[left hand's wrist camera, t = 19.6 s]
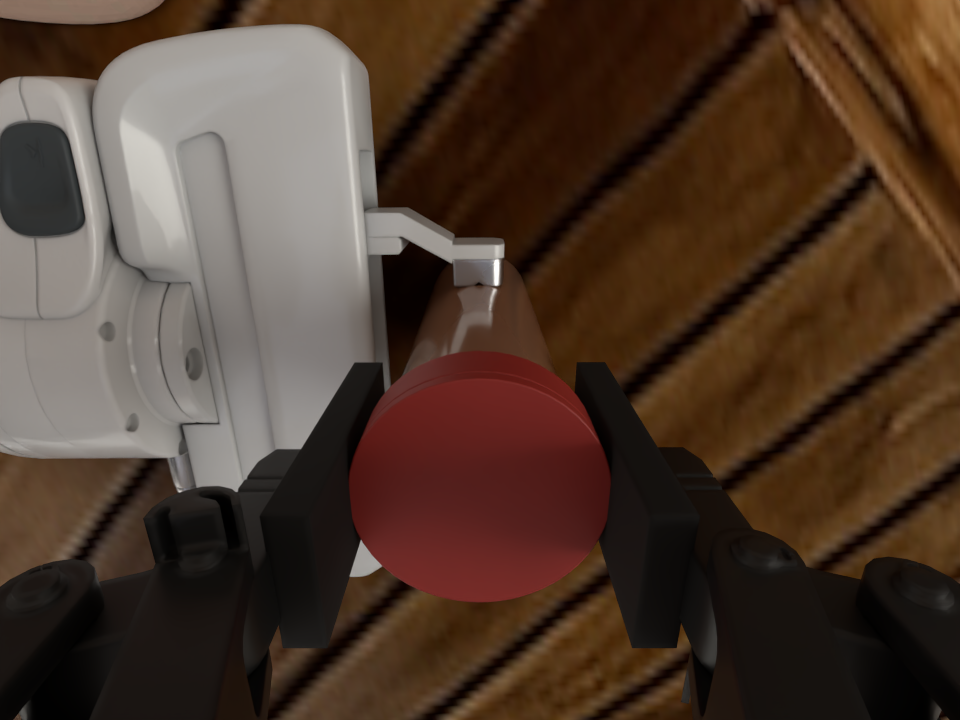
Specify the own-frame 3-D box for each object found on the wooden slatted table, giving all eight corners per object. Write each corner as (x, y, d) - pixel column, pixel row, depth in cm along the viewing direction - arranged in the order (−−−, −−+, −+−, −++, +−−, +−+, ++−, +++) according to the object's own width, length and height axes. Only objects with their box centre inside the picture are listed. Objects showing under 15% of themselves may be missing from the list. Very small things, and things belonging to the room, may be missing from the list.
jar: (545, 297, 26) (633, 479, 11) (480, 360, 27) (482, 601, 12) (478, 231, 25) (476, 336, 10) (413, 300, 26) (326, 484, 11)
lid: (315, 423, 12) (291, 461, 10) (525, 304, 11) (532, 327, 9) (443, 584, 13) (439, 637, 12) (634, 493, 12) (655, 538, 11)
